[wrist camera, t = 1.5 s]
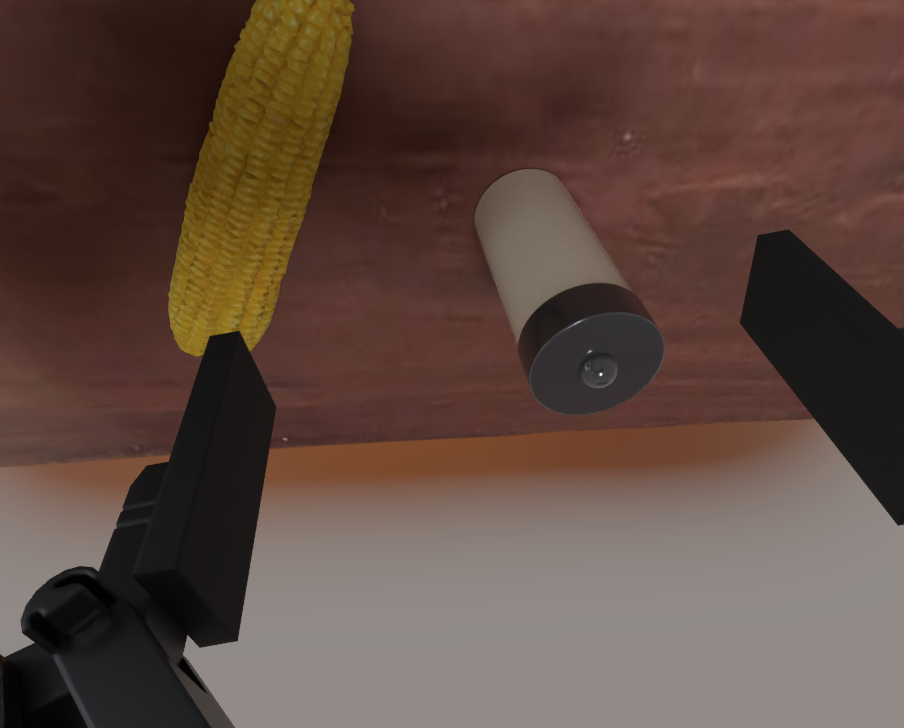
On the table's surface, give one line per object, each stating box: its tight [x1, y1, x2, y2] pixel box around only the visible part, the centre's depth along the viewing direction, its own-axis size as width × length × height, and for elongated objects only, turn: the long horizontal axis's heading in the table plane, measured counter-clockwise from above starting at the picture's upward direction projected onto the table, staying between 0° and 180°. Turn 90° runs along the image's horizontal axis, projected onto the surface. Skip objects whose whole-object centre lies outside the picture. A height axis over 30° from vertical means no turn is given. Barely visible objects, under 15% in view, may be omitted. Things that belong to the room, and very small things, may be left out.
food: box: [168, 0, 355, 356], centre depth 30 cm, size 21×6×6 cm, turn 156°
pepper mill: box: [474, 169, 665, 415], centre depth 32 cm, size 6×6×15 cm
